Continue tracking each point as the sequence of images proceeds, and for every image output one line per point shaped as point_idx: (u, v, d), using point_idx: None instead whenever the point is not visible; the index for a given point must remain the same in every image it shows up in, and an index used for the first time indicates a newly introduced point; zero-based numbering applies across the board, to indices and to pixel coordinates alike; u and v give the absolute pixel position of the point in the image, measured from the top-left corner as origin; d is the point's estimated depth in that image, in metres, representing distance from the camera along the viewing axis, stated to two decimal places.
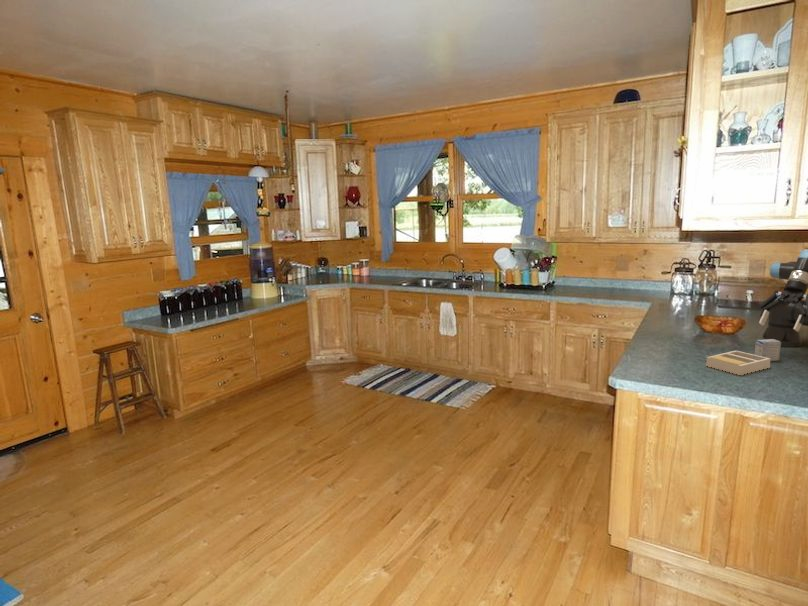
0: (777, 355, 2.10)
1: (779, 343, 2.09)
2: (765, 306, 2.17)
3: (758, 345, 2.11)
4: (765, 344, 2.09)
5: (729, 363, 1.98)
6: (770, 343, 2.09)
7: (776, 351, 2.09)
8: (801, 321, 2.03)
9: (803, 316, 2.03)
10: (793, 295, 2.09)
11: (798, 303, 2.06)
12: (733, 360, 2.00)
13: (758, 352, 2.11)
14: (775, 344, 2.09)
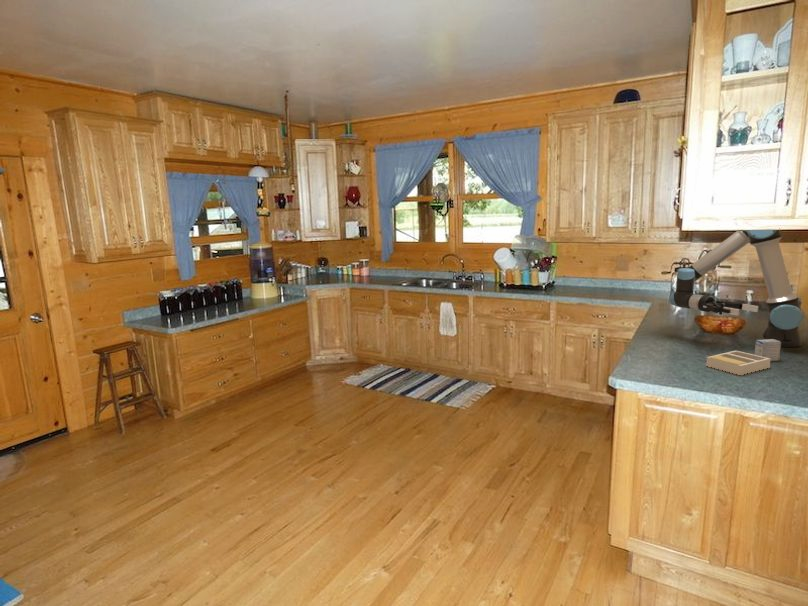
0: (777, 355, 2.10)
1: (779, 343, 2.09)
2: (739, 308, 2.28)
3: (758, 345, 2.11)
4: (765, 344, 2.09)
5: (729, 363, 1.98)
6: (770, 343, 2.09)
7: (776, 351, 2.09)
8: None
9: None
10: None
11: None
12: (733, 360, 2.00)
13: (758, 352, 2.11)
14: (775, 344, 2.09)
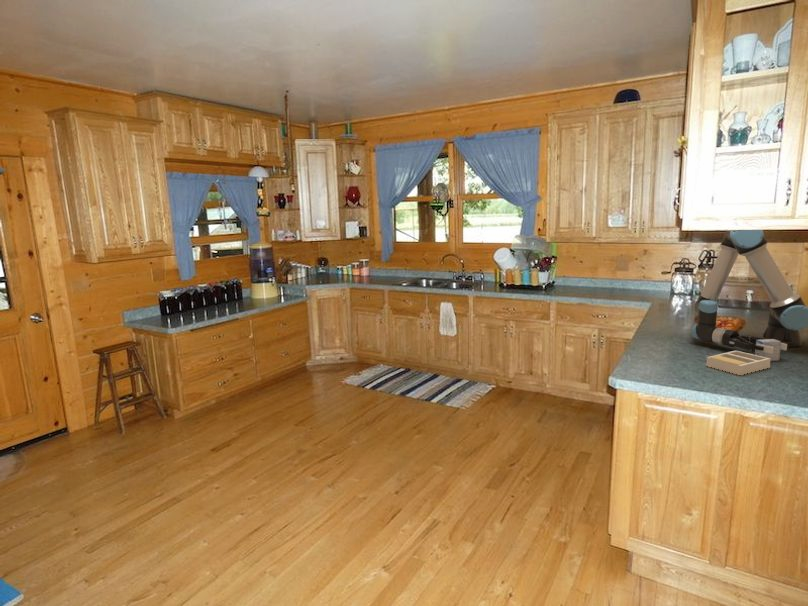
0: (777, 355, 2.10)
1: (779, 343, 2.09)
2: None
3: None
4: (765, 344, 2.09)
5: (729, 363, 1.98)
6: (770, 343, 2.09)
7: (776, 351, 2.09)
8: None
9: None
10: None
11: None
12: (733, 360, 2.00)
13: (758, 352, 2.11)
14: (775, 344, 2.09)
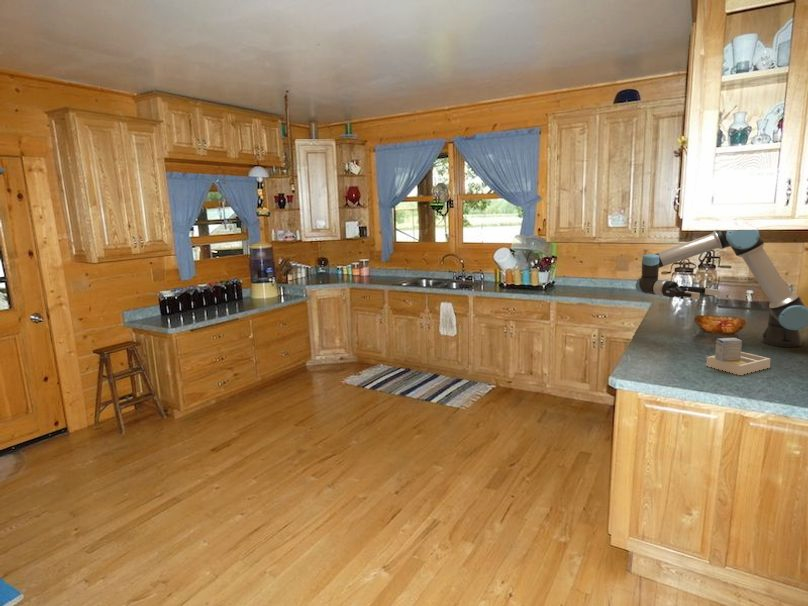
0: (738, 354, 1.99)
1: (740, 342, 1.98)
2: None
3: (718, 344, 2.00)
4: (725, 343, 1.97)
5: (729, 363, 1.98)
6: (730, 342, 1.98)
7: (736, 350, 1.98)
8: (689, 296, 2.16)
9: None
10: None
11: None
12: None
13: (719, 351, 2.00)
14: (736, 343, 1.98)
